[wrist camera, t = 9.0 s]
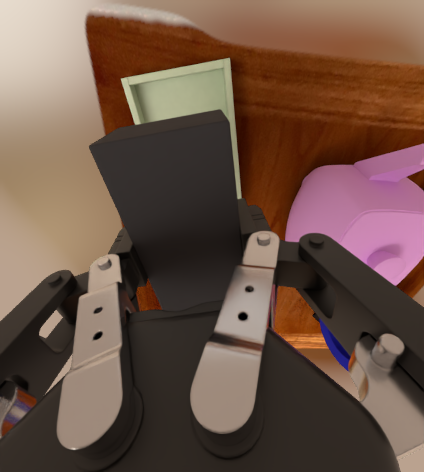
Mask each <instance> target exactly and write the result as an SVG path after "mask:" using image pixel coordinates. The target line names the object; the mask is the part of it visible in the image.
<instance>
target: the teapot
mask: <svg viewBox="0 0 424 472" xmlns="http://www.w3.org/2000/svg"><path fill="white" fill-rule="evenodd" d="M423 169H424V144H421V145H417V146H413V147H410V148H406V149H402V150H399V151H395V152H391V153H388V154H384V155H380V156H377V157H373V158H369V159H366V160H362V161H359V162H355V164H354V165H327V166H322V167H318V168H316V169H314V170H313V171H312V172H311V173H310V174H309V175H307V176H306V177H305V178H304V180H303V182H302V186H301V188H300V190H299V192H298V194H297V196H296V198H295V200H294V202H293V205H292V207H291V210H290V213H289V217H288V222H287V227H286V235H285V241H289V242H299V239H300V238H301V237H302V236H303V235H305V234H308V233H321V234H325V235H327V236H329V237H331V238H332V239H333V240H335V241H336V242H337V243H339V244H340V245H341V246H343V247H344V248H345V249H347V250H348V251H349V252H351V253H352V254H353V255H355V256H356V257H357V258H359V259H360V260H361V261H363V262H364V263H365V264H367V265H368V266H369V267H371V268H372V269H373V270H375V271H376V272H377V273H379V274H380V275H381V276H383V277H384V278H385V279H387V280H388V281H389V282H391V283H392V284H393V285H395V286H396V285H397V284H398V283H399V282H401V281H402V280H403V279H404V278H405V277H406V276H407V275H408V274H409V272H410V271H411V270H412V269H413V268H414V267H415V266H416V265H417V264H418V263H419V261H420V260H421V259H422V258H423V256H424V191H423V190H422V189H421V188H420V187H419V186H418V185H416V184H415V183H414V182H412V181H411V180H409V179H408V178H406V177H407V176H409V175H412V174H414V173H416V172H418V171H421V170H423Z"/></svg>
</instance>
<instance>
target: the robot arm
mask: <svg viewBox="0 0 424 472" xmlns="http://www.w3.org/2000/svg"><path fill="white" fill-rule="evenodd" d="M238 208H239V218H240V235H241V245H242V255H243V258H242V262H241V264H236V266H235V269H234V272H233V275H232V278H231V281H230V284H229V287H228V290H227V293H226V296H225V299H224V300H219V301H212V302H205V303H201V304H198V305H196V306H193V307H190V308H187V309H185V310H182V311H166V310H156V309H154V310H147V311H142V310H141V305H140V299H139V295H138V293H137V288H138V287H140V286H146V283H147V280H148V276H147V274H146V272H145V269H144V267H143V265H142V263H141V261H140V258H139V256H138V254H137V252H136V250H135V247H134V245H133V244H132V241H131V239H130V237H129V235H128V232H127V230H126V228H125V227H124V228H123V229H122V230H121V231H120V232H119V234H118V236H117V238H116V239H115V242H114V243H113V245H112V247H111V249H110V251H109V253H108V255H105V256H102V257H100V258H98V259H97V260H95V261H94V262H93V263H92V264H91V266H90V269H89V271H88V272H86V273H83V274H80V275H78V276H75V277H74V276H73V274H72V273H71V272H70V271H69V270H61V271H58V272H55V273H53V274H51V275H50V276H48V277H47V278H46V279H44V280H43V281H42V282H41V283H40V284H39V285H38V286H37V287H36V288H35V289H34V290H33V291H32V292H31V293H29V295H27V296H26V297H25V298H24V299H23V300H22V301H21V302H20V303H19V304H18V305H17V306H16V307H15V308H14V309H13V310H12V311H11V312H10V313H9V314H8V315H7V316H6V317H5V318H3V320H1V321H0V472H401V471H400V468H399V464H398V460H400V459H402V458H403V457H406V456H408V455H409V454H411V453H414V452H415V451H417V450H420V449H421V448H424V307H422V306H421V305H420V304H418V303H417V302H416V301H414V300H413V299H412V298H411V297H409V296H408V295H407V294H405V293H404V292H403V291H401V290H400V289H399V288H397V287H396V286H395V285H393V284H392V283H391V282H389V281H388V280H387V279H385V278H384V277H383V276H381V275H380V274H379V273H377V272H376V271H375V270H373V269H372V268H371V267H369V266H368V265H367V264H365V263H364V262H363V261H361V260H360V259H359V258H357V257H356V256H355V255H353V254H352V253H351V252H349V251H348V250H347V249H345V248H344V247H343V246H341V245H340V244H339V243H337V242H336V241H335V240H333V239H332V238H331V237H329V236H327V235H325V234H321V233H308V234H305V235H303V236H302V237H301V238H300V239H299V242H289V241H283V240H280V239H279V236H278V235H277V234H276V233H274V232H272V231H271V229H270V227H269V225H268V223H267V221H266V219H265V216H264V215H263V212H262V210H261V208H259V207H258V206H256V205H251V206H248V205H247V202H246V200H245V198H242V199H238ZM278 286H286V287H294V288H296V289H297V291H298V292H299V293H300V294H301V296H302V297H303V298H304V299H305V301H306V302H307V303H308V304H309V306H310V307H311V308H312V309H313V310H314V312H315V313H316V314H317V315H318V317H319V318H320V319H321V320H322V322H323V323H324V324H325V325H326V327H327V328H328V329H329V330H330V332H331V333H332V334H333V335H334V337H335V338H336V339H337V340H338V341H339V343H340V344H341V345H342V346H343V348H344V349H345V350H346V351H347V353H348V354H349V355H350V356H351V358H350V360H349V363H348V370H349V374H350V376H351V378H352V380H353V382H354V384H355V385H356V387H357V390H358V393H359V398H360V402H359V401H358V400H357V399H356V398H354V397H353V396H352V395H351V394H350V393H348V392H347V391H346V390H345V389H344V388H342V387H341V386H340V385H339V384H337V383H336V382H335V381H334V380H333V379H331V378H330V377H329V376H328V375H327V374H325V373H324V372H323V371H322V370H321V369H319V368H318V367H317V366H316V365H315V364H313V363H312V362H311V361H310V360H308V359H307V358H306V357H305V356H304V355H302V354H301V353H300V352H298V350H296V349H295V348H294V347H293V346H292V345H290V344H289V343H288V342H287V341H286V340H284V339H283V338H282V337H281V336H279V335H278V334H277V333H276V332H275V331H274V329H275V313H276V304H277V295H278ZM55 310H57V311H58V312H59V313H60V314H61V315H62V317H63V318H62V319H61V321H60V322H59V323H58V324H57V326H56V327H55V328H54V330H53V331H52V332H51V333H50V334H49V336H48V337H47V338H46V339H45V341H43V340H42V339H41V338H40V337H39V331H40V328H41V327H42V325H43V324H44V323H45V322H46V320H48V318H49V317H50V316H51V315H52V313H54V311H55ZM72 353H73V355H72ZM71 355H72V364H71V368H70V370H69V372H68V373H67V374H66V375H65V376H64V377H63V378H62V379H61V380H60V381H59V382H58V383H57V384H56V385H55V386H54V387H53V388H52V389H51V390H50V391H49V392H47V390H48V389H49V387H50V386H51V384H52V383H53V381H54V380H55V378H56V377H57V375H58V374H59V373H60V371H61V369H62V368H63V366H64V365H65V364H66V362H67V360H68V359H69V358H70V356H71ZM46 392H47V393H46ZM45 393H46V394H45Z"/></svg>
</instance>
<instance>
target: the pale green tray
mask: <svg viewBox="0 0 424 472" xmlns="http://www.w3.org/2000/svg"><path fill="white" fill-rule="evenodd" d="M121 81H122V85H123V88H124V91H125V94H126V97H127V100H128V104H129V107H130V110H131V113H132V116H133V119H134V123H135V125H137V124H143V123H148V122H153V121H159V120H164V119H170V118H175V117H180V116H186V115H191V114H196V113H202V112H207V111H213V110H218V109H221V110H222V111H223V113H224V114H225V116H226V117H227V119H228V120H229V122H230V130H231V140H232V150H233V160H234V169H235V179H236V189H237V199H242V198H241V186H240V173H239V161H238V149H237V137H236V125H235V113H234V101H233V89H232V77H231V65H230V58H227V59H221V60H216V61H211V62H205V63H200V64H195V65H190V66H184V67H179V68H174V69H168V70H163V71H158V72H153V73H147V74H142V75H137V76H131V77H126V78H121Z"/></svg>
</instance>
